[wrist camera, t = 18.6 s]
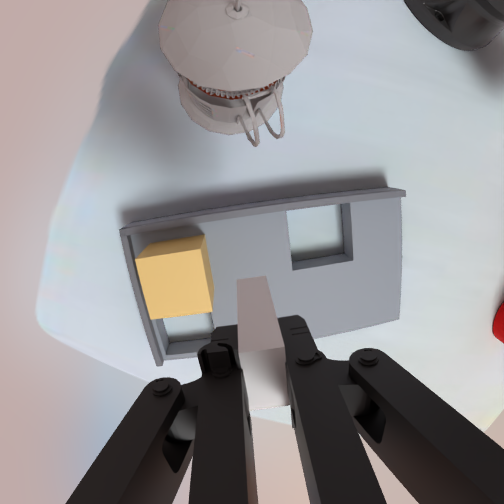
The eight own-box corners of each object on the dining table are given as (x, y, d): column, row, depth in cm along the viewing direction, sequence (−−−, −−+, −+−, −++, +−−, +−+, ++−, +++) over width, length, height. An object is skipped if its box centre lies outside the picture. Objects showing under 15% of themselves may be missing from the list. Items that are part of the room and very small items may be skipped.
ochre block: (149, 243, 27) (134, 259, 22) (204, 234, 27) (200, 249, 22) (161, 295, 28) (150, 319, 24) (214, 287, 29) (212, 311, 24)
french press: (261, 28, 25) (337, -179, 1) (304, 133, 28) (537, 65, 4) (164, 60, 25) (46, -130, 1) (206, 168, 28) (103, 177, 4)
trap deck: (130, 222, 29) (119, 230, 26) (388, 187, 30) (405, 190, 27) (162, 348, 33) (156, 366, 29) (389, 309, 34) (403, 323, 30)
